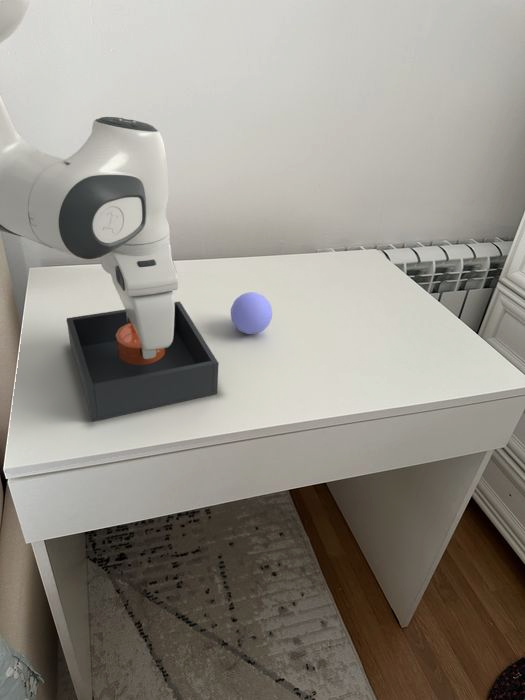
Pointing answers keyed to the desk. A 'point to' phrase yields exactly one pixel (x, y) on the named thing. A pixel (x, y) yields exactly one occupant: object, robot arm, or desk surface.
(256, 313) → the sphere
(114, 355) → the tub
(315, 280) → the desk surface
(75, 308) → the desk surface
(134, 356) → the orange short cylinder
